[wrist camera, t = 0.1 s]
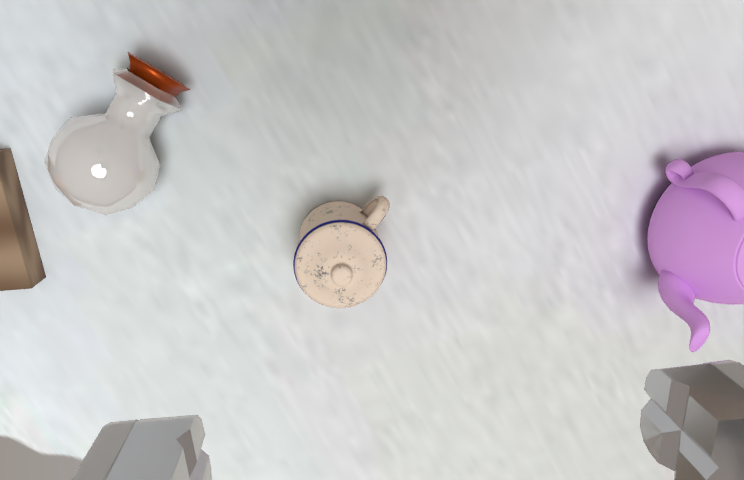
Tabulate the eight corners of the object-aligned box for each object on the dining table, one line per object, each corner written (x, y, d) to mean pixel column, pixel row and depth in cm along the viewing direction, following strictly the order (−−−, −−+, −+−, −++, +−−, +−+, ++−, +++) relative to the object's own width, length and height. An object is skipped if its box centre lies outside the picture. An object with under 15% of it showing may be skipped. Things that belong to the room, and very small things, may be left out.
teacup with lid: (343, 289, 61) (348, 339, 50) (280, 243, 58) (271, 285, 47) (411, 212, 58) (432, 246, 48) (348, 160, 56) (356, 184, 45)
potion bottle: (93, 192, 56) (160, 68, 54) (149, 239, 52) (222, 109, 51) (5, 172, 47) (81, 25, 46) (65, 227, 44) (150, 70, 42)
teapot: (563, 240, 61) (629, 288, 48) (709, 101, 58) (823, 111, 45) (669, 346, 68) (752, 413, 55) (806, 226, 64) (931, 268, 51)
